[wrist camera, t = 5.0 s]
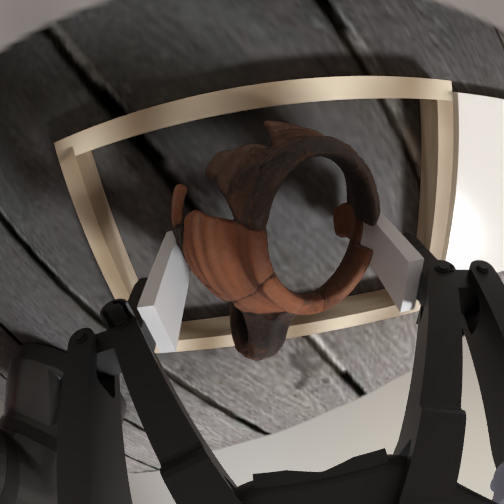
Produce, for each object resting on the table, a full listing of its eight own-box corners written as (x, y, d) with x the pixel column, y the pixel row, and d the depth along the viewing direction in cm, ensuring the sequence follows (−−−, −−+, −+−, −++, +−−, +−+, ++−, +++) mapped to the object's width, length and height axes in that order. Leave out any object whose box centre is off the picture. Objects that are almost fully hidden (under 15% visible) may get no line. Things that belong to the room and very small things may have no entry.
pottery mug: (156, 133, 15) (217, 99, 8) (296, 139, 20) (399, 134, 13) (169, 334, 18) (227, 421, 11) (291, 304, 23) (375, 353, 16)
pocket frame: (150, 335, 23) (145, 353, 22) (70, 136, 15) (53, 143, 13) (419, 291, 22) (430, 307, 20) (432, 79, 14) (451, 80, 12)
